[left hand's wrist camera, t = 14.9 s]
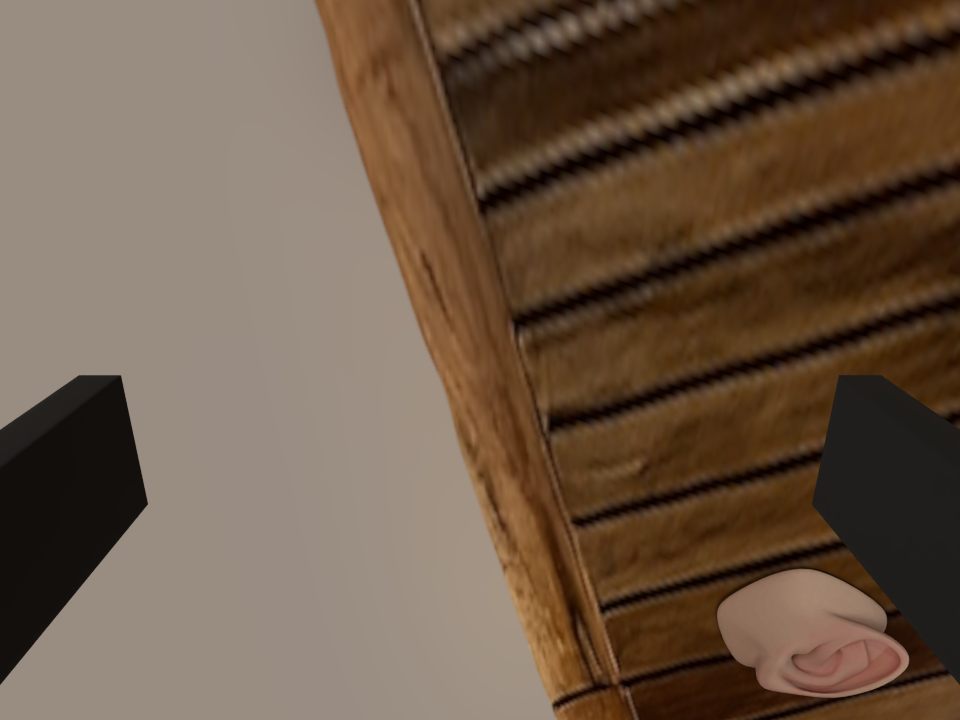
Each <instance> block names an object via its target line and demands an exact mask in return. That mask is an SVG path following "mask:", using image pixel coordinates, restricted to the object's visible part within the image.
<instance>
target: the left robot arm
mask: <svg viewBox="0 0 960 720" xmlns="http://www.w3.org/2000/svg"><path fill="white" fill-rule="evenodd" d="M147 505H148V502H147V497H146V492H145V488H144V483H143V478H142V474H141V469H140V464H139V459H138V454H137V450H136V445H135V440H134V435H133V431H132V426H131V421H130V416H129V412H128V407H127V402H126V397H125V393H124V388H123V383H122V378H121V376H120V375H79V376H77V377H76V378H75V379H73V380H72V381H70V382H69V383H67V384H66V385H64V386H63V387H61V388H60V389H59V390H57V391H56V392H54V393H53V394H51V395H50V396H49V397H47V398H46V399H44V400H43V401H41V402H40V403H38V404H37V405H35V406H34V407H33V408H31V409H30V410H28V411H27V412H25V413H24V414H23V415H21V416H20V417H18V418H17V419H15V420H14V421H12V422H11V423H9V424H8V425H6V426H5V427H4V428H2V429H1V430H0V684H1V683H2V682H3V681H4V680H5V678H6V677H7V676H8V675H9V673H10V672H11V671H12V670H13V669H14V667H15V666H16V665H17V664H18V662H19V661H20V660H21V659H22V658H23V656H24V655H25V654H26V653H27V651H28V650H29V649H30V648H31V647H32V645H33V644H34V643H35V642H36V640H37V639H38V638H39V637H40V636H41V634H42V633H43V632H44V631H45V629H46V628H47V627H48V626H49V625H50V623H51V622H52V621H53V620H54V618H55V617H56V616H57V615H58V614H59V612H60V611H61V610H62V609H63V607H64V606H65V605H66V604H67V603H68V601H69V600H70V599H71V598H72V596H73V595H74V594H75V593H76V592H77V590H78V589H79V588H80V587H81V585H82V584H83V583H84V582H85V581H86V579H87V578H88V577H89V576H90V574H91V573H92V572H93V571H94V570H95V568H96V567H97V566H98V565H99V563H100V562H101V561H102V560H103V559H104V557H105V556H106V555H107V554H108V552H109V551H110V550H111V549H112V548H113V546H114V545H115V544H116V543H117V541H118V540H119V539H120V538H121V537H122V535H123V534H124V533H125V532H126V530H127V529H128V528H129V527H130V526H131V524H132V523H133V522H134V521H135V519H136V518H137V517H138V516H139V515H140V513H141V512H142V511H143V510H144V508H145V507H146V506H147ZM812 505H813V506H814V507H815V508H816V510H817V511H818V512H819V513H820V515H821V516H822V517H823V518H824V519H825V521H826V522H827V523H828V524H829V526H830V527H831V528H832V529H833V530H834V532H835V533H836V534H837V535H838V537H839V538H840V539H841V540H842V541H843V543H844V544H845V545H846V546H847V548H848V549H849V550H850V551H851V552H852V554H853V555H854V556H855V557H856V559H857V560H858V561H859V562H860V563H861V565H862V566H863V567H864V568H865V570H866V571H867V572H868V573H869V574H870V576H871V577H872V578H873V579H874V581H875V582H876V583H877V584H878V585H879V587H880V588H881V589H882V590H883V592H884V593H885V594H886V595H887V596H888V598H889V599H890V600H891V601H892V603H893V604H894V605H895V606H896V607H897V609H898V610H899V611H900V612H901V614H902V615H903V616H904V617H905V618H906V620H907V621H908V622H909V623H910V625H911V626H912V627H913V628H914V629H915V631H916V632H917V633H918V634H919V636H920V637H921V638H922V639H923V640H924V642H925V643H926V644H927V645H928V647H929V648H930V649H931V650H932V651H933V653H934V654H935V655H936V656H937V658H938V659H939V660H940V661H941V662H942V664H943V665H944V666H945V667H946V669H947V670H948V671H949V672H950V673H951V675H952V676H953V677H954V678H955V680H956V681H957V682H958V683H959V684H960V430H959V429H958V428H956V427H955V426H954V425H952V424H951V423H949V422H948V421H946V420H945V419H943V418H942V417H940V416H939V415H938V414H936V413H935V412H933V411H932V410H930V409H929V408H927V407H926V406H925V405H923V404H922V403H920V402H919V401H917V400H916V399H914V398H913V397H912V396H910V395H909V394H907V393H906V392H904V391H903V390H901V389H900V388H899V387H897V386H896V385H894V384H893V383H891V382H890V381H888V380H887V379H885V378H884V377H883V376H881V375H839V378H838V383H837V388H836V393H835V397H834V402H833V407H832V412H831V416H830V421H829V426H828V431H827V435H826V440H825V445H824V450H823V454H822V459H821V464H820V469H819V473H818V478H817V483H816V488H815V492H814V497H813V502H812Z"/></svg>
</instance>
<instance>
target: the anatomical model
mask: <svg viewBox="0 0 960 720" xmlns="http://www.w3.org/2000/svg"><path fill="white" fill-rule="evenodd" d="M717 620H718V625H719V628H720V631H721V633H722V636H723V639H724V641H725V644H726V645H727V647H728V649H729V650H730V652H731V654H732V655H733V656H734V658H735V659H736V660H737V661H738V662H740V663H741V664H743V665H746V666H750V667H753V668H756V676H757V679H758V681H759V683H760V685H761V686H762V687H764V688H766V689H768V690H772V691H778V692H784V693H791V694H798V695H805V696H813V697H844V696H849V695H854V694H859V693H862V692H866V691H869V690H872V689H875V688H877V687H880V686H882V685H884V684H886V683H888V682H890V681H892V680H893V679H895V678H896V677H897V676H899V675H900V674H901V673H902V672H903V671H904V670H905V669H906V668H907V666H908V664H909V656H908V653H907V651H906V650H905V649H904V648H903V646H902V645H901V644H899V643H898V642H897V641H896V640H894V639H893V638H892V637H890V636H888V635H887V634H885V633H884V631H885V628H886V625H887V617H886V614H885V612H884V610H883V609H882V608H881V607H880V606H879V605H878V604H877V603H876V602H875V601H874V600H873V599H871V598H870V597H868V596H867V595H865V594H864V593H862V592H861V591H859V590H858V589H856V588H854V587H852V586H851V585H849V584H847V583H845V582H843V581H841V580H839V579H837V578H835V577H833V576H830V575H828V574H825V573H823V572H820V571H816V570H811V569H792V570H787V571H783V572H779V573H776V574H773V575H770V576H768V577H765V578H762V579H760V580H758V581H756V582H754V583H752V584H750V585H748V586H746V587H744V588H742V589H740V590H738V591H737V592H735V593H734V594H732V595H731V596H729V597H728V598H726V599H725V600H724V601H723V602H722V603H721V605H720V606H719V608H718V611H717Z"/></svg>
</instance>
